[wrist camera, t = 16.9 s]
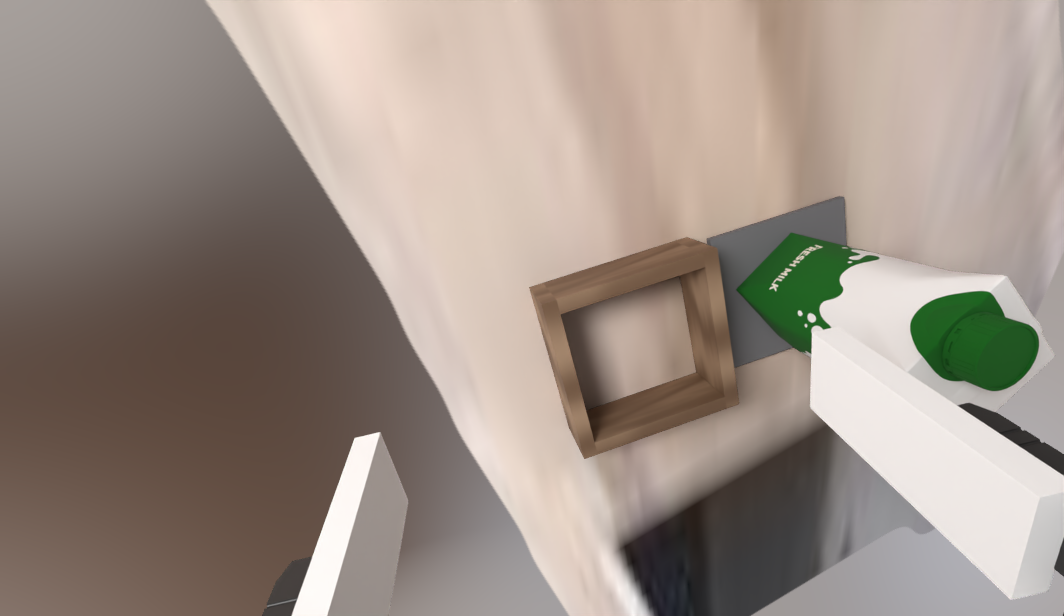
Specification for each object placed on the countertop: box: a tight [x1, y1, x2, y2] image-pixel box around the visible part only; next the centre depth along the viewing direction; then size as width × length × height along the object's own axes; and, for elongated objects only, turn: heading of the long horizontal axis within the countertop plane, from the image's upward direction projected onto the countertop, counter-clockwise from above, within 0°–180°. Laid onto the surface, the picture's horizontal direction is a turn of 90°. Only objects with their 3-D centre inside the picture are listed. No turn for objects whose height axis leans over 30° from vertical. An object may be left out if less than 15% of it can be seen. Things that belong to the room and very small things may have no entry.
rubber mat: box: [707, 196, 847, 368], centre depth 47 cm, size 13×13×1 cm
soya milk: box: [736, 232, 1055, 412], centre depth 37 cm, size 9×9×20 cm
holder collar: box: [529, 237, 739, 459], centre depth 43 cm, size 14×14×5 cm
